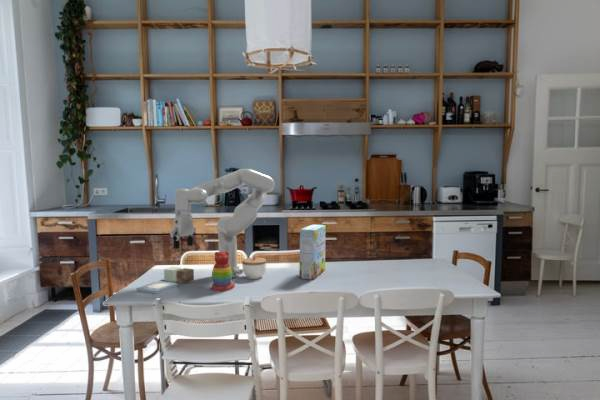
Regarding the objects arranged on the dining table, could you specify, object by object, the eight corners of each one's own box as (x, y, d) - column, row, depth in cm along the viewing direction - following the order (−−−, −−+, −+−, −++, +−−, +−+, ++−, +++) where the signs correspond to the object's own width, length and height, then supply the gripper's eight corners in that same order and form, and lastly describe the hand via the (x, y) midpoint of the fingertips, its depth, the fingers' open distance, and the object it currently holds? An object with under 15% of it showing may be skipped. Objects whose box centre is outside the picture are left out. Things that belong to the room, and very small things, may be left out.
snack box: (315, 280, 213) (314, 229, 211) (298, 279, 216) (298, 229, 214) (326, 270, 234) (326, 224, 232) (311, 269, 236) (311, 223, 234)
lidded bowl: (262, 281, 213) (262, 259, 212) (238, 279, 216) (238, 258, 215) (269, 274, 225) (269, 254, 225) (246, 273, 228) (246, 253, 227)
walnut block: (193, 280, 215) (193, 269, 215) (186, 283, 210) (185, 271, 209) (184, 279, 218) (184, 268, 217) (176, 282, 212) (176, 270, 212)
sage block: (181, 279, 218) (181, 267, 218) (173, 282, 213) (173, 270, 213) (172, 278, 221) (172, 266, 221) (164, 280, 216) (164, 269, 215)
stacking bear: (235, 285, 205) (234, 249, 204) (232, 291, 195) (231, 253, 194) (212, 285, 205) (211, 249, 204) (209, 292, 195) (208, 253, 194)
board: (177, 285, 206) (177, 283, 205) (156, 293, 193) (156, 290, 193) (158, 283, 211) (158, 280, 211) (136, 290, 198) (136, 288, 198)
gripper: (176, 215, 203) (176, 250, 204) (200, 212, 218) (200, 245, 219) (164, 214, 206) (165, 249, 207) (189, 211, 221) (189, 243, 223)
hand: (183, 247), depth 213 cm, fingers open, 9 cm apart
